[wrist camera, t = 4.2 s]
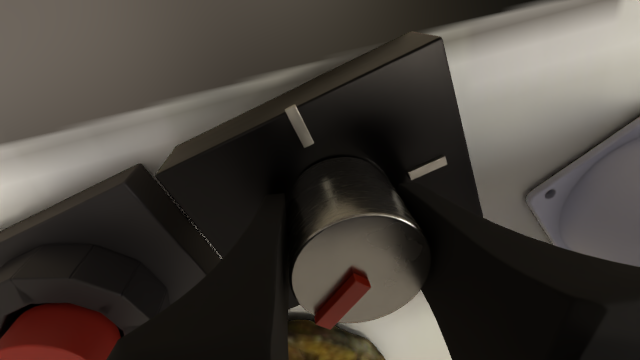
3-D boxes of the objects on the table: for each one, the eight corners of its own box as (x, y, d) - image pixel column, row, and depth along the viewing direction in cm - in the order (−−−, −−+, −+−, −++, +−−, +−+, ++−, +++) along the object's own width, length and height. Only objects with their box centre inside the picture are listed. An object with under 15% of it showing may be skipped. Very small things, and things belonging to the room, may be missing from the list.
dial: (327, 134, 11) (351, 193, 7) (414, 189, 12) (467, 260, 9) (264, 222, 12) (260, 305, 9) (349, 262, 13) (374, 347, 10)
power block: (140, 162, 13) (99, 210, 10) (244, 287, 17) (238, 350, 14) (-59, 260, 14) (-154, 332, 11) (82, 357, 18) (42, 430, 15)
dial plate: (411, 27, 12) (444, 32, 9) (457, 198, 16) (489, 231, 13) (172, 144, 13) (149, 175, 10) (272, 277, 17) (272, 322, 14)
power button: (72, 287, 11) (42, 331, 10) (141, 342, 13) (123, 386, 12) (-10, 325, 12) (-51, 372, 10) (68, 373, 14) (41, 421, 12)
